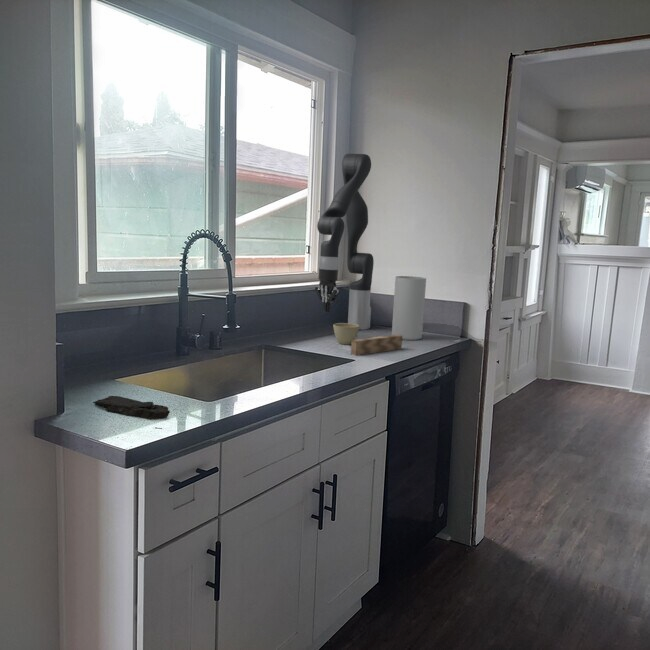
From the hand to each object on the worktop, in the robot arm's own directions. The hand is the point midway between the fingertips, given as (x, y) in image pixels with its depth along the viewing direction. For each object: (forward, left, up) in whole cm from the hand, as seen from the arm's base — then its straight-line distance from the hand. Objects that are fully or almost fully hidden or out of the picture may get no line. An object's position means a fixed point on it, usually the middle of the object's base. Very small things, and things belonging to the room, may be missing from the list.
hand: (326, 311), depth 247 cm
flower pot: (0, +12, -11) cm, 16 cm away
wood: (+103, +48, -11) cm, 114 cm away
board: (0, +29, -11) cm, 31 cm away
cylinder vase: (-32, +15, -11) cm, 37 cm away
